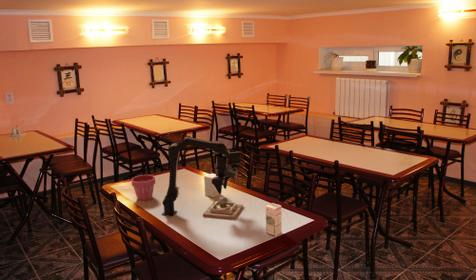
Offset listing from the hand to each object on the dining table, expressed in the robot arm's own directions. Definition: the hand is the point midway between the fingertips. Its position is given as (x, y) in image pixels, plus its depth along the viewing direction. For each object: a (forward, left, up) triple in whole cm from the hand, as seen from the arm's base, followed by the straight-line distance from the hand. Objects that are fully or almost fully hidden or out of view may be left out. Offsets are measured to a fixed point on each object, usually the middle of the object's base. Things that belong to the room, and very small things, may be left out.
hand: (222, 191), depth 239 cm
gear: (0, 0, -10) cm, 11 cm away
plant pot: (+11, +55, -12) cm, 57 cm away
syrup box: (-21, -33, -12) cm, 41 cm away
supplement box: (+25, +15, -12) cm, 31 cm away
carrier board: (0, 0, -12) cm, 12 cm away
